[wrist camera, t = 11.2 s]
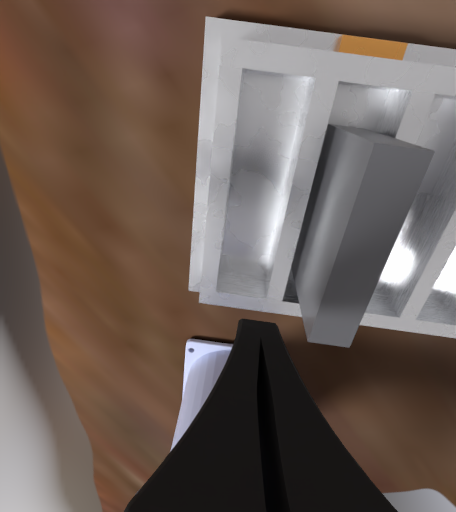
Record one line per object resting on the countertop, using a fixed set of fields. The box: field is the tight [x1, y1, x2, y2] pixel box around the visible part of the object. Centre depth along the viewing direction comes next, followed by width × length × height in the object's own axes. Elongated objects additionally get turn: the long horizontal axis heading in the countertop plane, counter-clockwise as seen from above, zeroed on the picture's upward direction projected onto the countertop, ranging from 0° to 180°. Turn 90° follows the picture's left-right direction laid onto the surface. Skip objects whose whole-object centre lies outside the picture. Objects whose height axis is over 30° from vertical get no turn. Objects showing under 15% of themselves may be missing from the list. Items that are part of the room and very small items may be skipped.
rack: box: [189, 17, 456, 338], centre depth 17 cm, size 16×20×4 cm
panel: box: [291, 124, 435, 348], centre depth 15 cm, size 9×2×7 cm, turn 173°
